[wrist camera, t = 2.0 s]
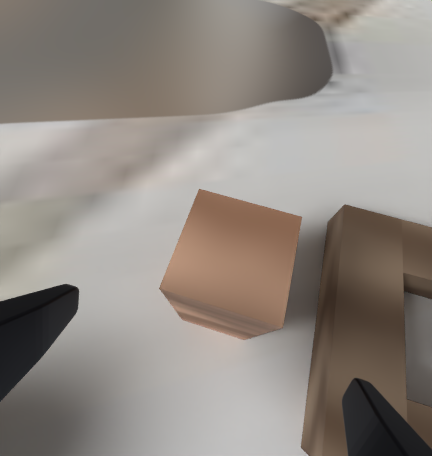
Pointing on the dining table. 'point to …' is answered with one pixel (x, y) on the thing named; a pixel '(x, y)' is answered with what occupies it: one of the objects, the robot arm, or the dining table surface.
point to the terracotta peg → (233, 266)
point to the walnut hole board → (364, 321)
